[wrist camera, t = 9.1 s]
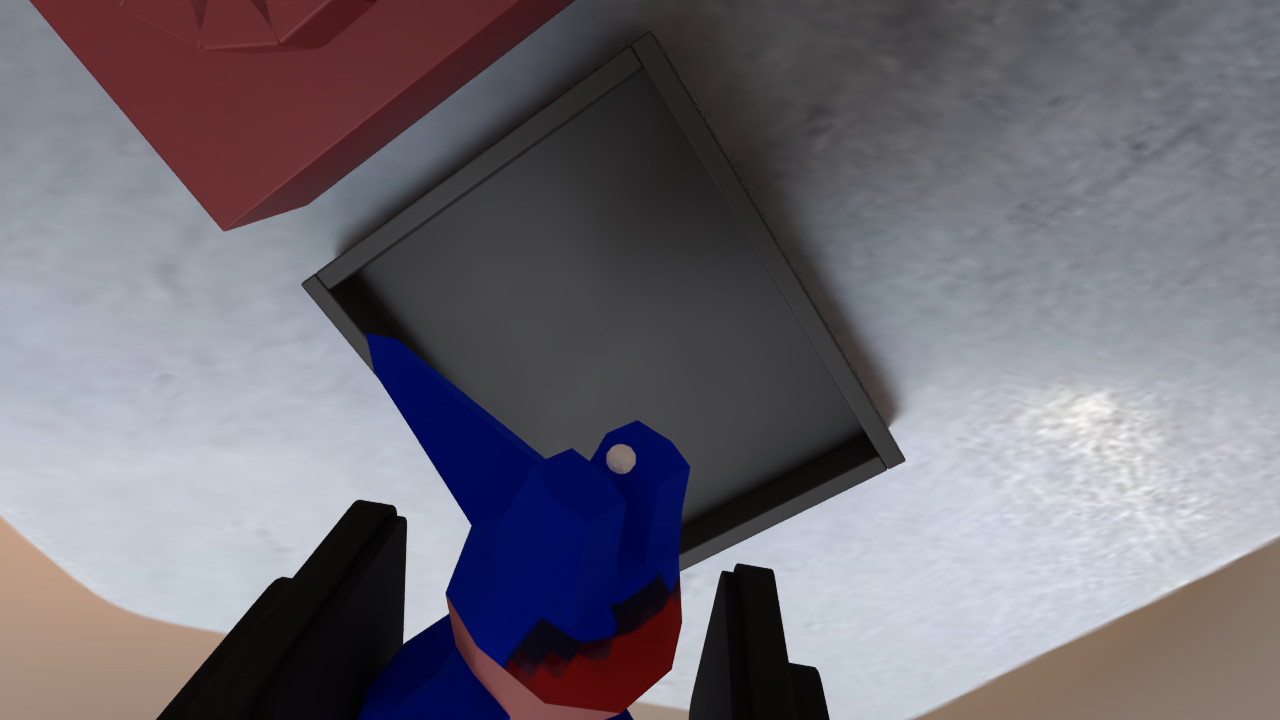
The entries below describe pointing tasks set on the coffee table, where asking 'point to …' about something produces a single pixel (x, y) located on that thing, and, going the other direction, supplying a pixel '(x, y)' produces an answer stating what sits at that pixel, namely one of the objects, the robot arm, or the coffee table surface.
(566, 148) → the tray
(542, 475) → the figurine
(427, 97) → the red push button box
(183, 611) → the coffee table surface
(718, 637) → the robot arm
